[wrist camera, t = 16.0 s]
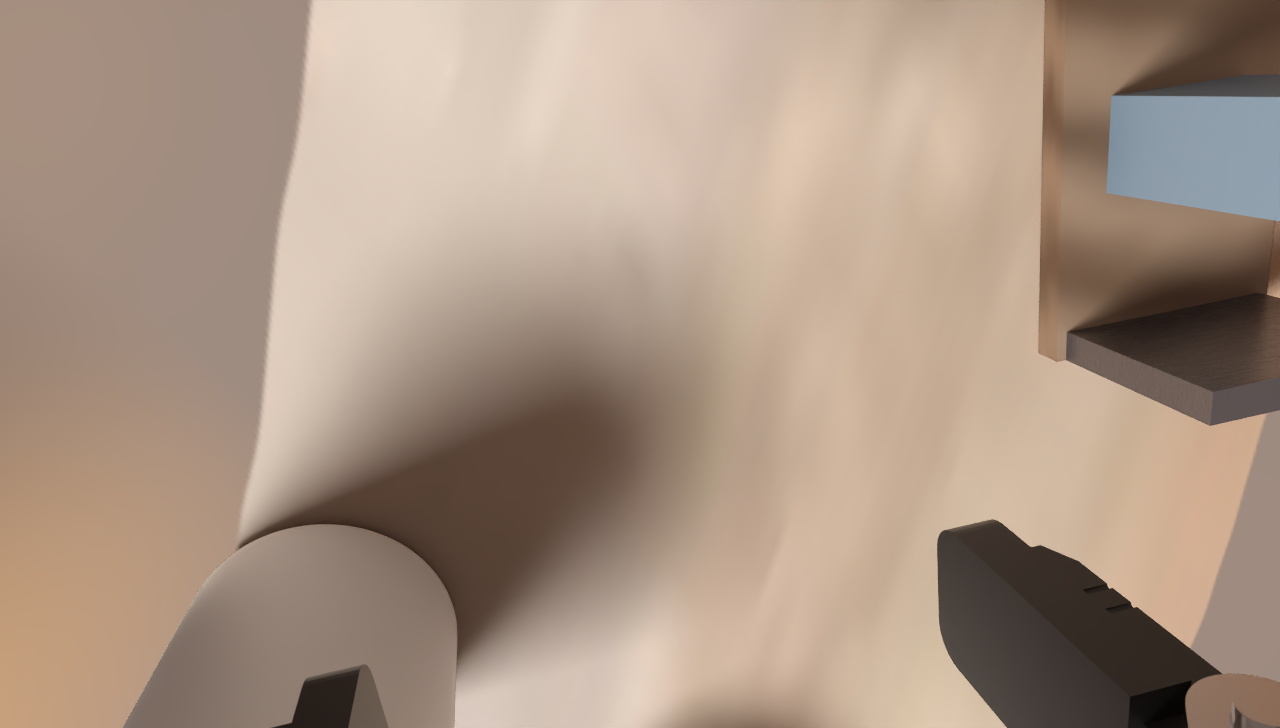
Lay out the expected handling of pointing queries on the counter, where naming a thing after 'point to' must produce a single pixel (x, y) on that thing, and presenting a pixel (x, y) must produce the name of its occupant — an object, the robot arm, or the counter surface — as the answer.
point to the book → (1200, 145)
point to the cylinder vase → (308, 633)
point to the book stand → (1078, 163)
